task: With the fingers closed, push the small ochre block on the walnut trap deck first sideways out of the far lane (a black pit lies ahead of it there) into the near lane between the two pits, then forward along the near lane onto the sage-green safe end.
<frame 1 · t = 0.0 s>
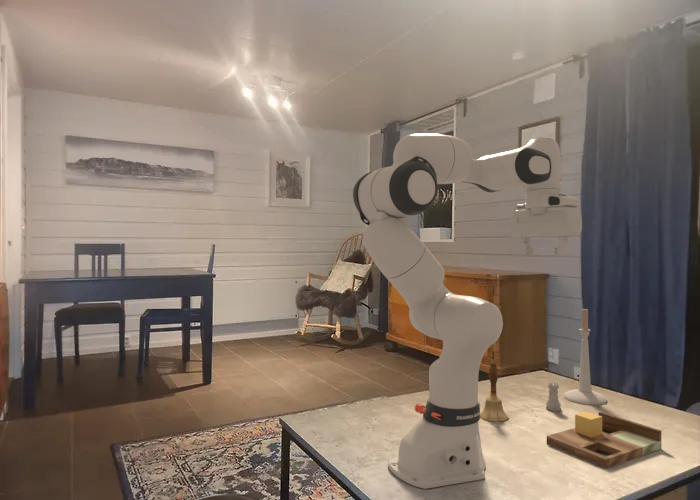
hand: (543, 254, 127), 48 cm above the table, tool pointing down, fingers open, 8 cm apart
rook chess piece: (553, 409, 150), on the table
candlestick: (584, 399, 160), on the table
block: (588, 432, 125), point 2 cm above the table, touching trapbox
hand bell: (493, 417, 143), on the table
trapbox: (603, 446, 121), on the table
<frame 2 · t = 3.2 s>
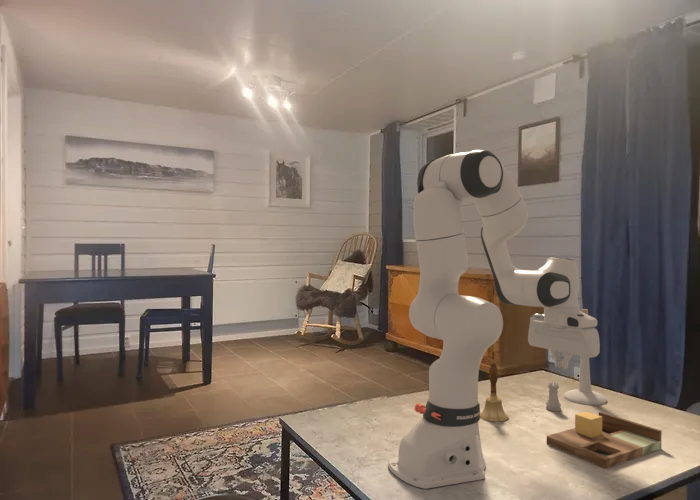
hand: (561, 367, 132), 17 cm above the table, tool pointing down, fingers closed
nothing on the table moved.
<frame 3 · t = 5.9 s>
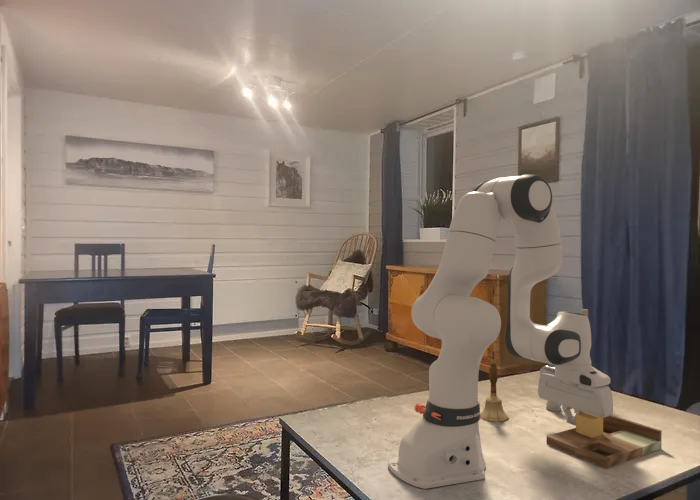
hand: (573, 424, 129), 3 cm above the table, tool pointing down, fingers closed
block: (589, 433, 125), point 2 cm above the table, touching gripper
everything else where it was.
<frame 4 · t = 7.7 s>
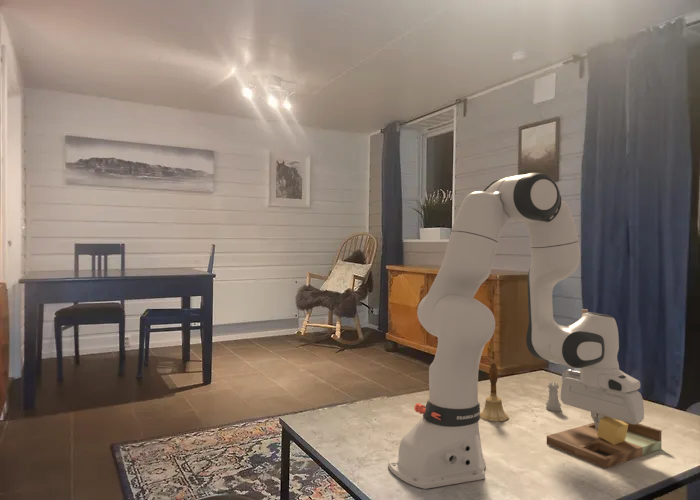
hand: (599, 430, 123), 3 cm above the table, tool pointing down, fingers closed, pressing on block
block: (610, 438, 120), point 2 cm above the table, tilted 11°, touching gripper, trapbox
everything else where it was.
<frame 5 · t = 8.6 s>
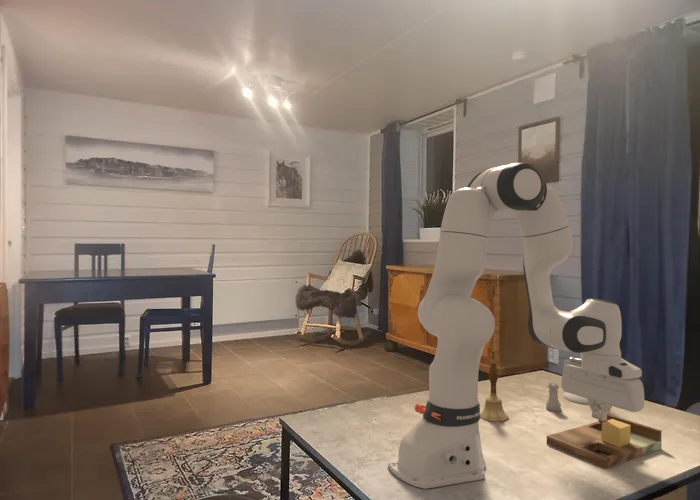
hand: (599, 419, 122), 7 cm above the table, tool pointing down, fingers closed
block: (615, 441, 119), point 2 cm above the table, touching gripper, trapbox
everything else where it was.
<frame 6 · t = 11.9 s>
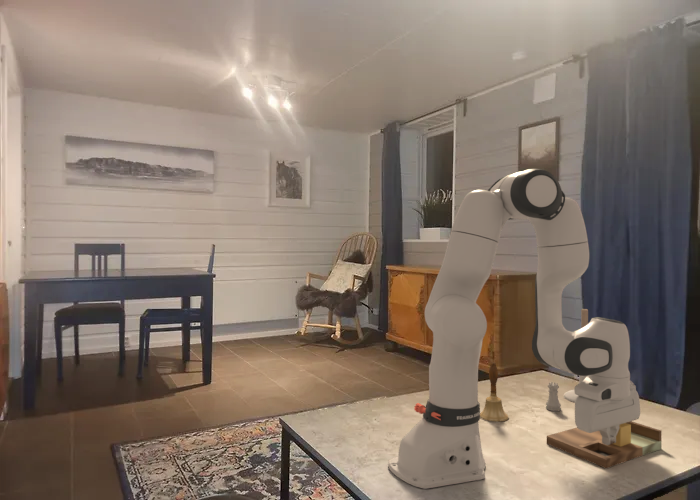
hand: (609, 443, 116), 3 cm above the table, tool pointing down, fingers closed
nothing on the table moved.
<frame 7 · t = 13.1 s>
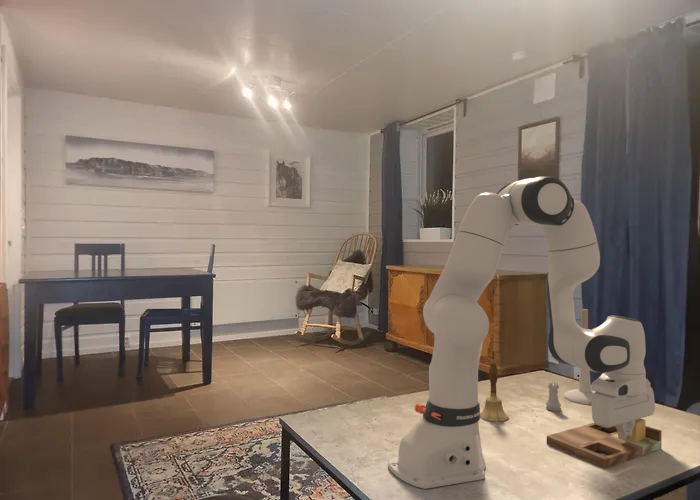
hand: (624, 438, 119), 3 cm above the table, tool pointing down, fingers closed
block: (631, 436, 122), point 2 cm above the table, touching gripper
everything else where it was.
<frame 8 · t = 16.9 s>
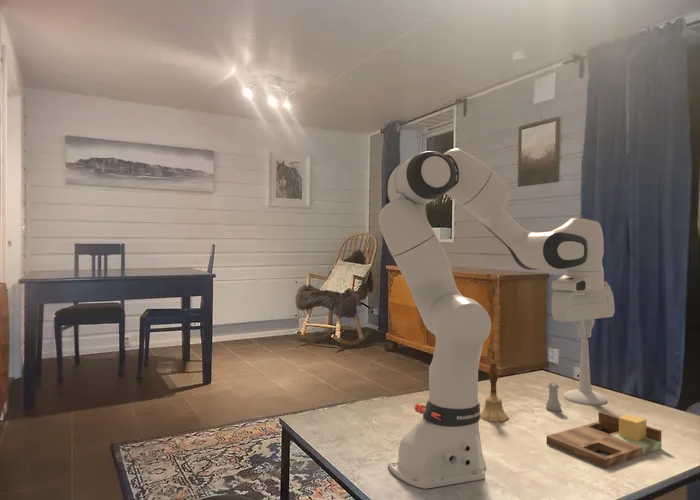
hand: (584, 337, 123), 27 cm above the table, tool pointing down, fingers closed
block: (632, 436, 123), point 2 cm above the table, touching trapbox
everything else where it was.
at the end: block inside the target area on the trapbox (1.6 cm from its centre), point 2.0 cm above the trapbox's base; block tilted 0° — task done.
